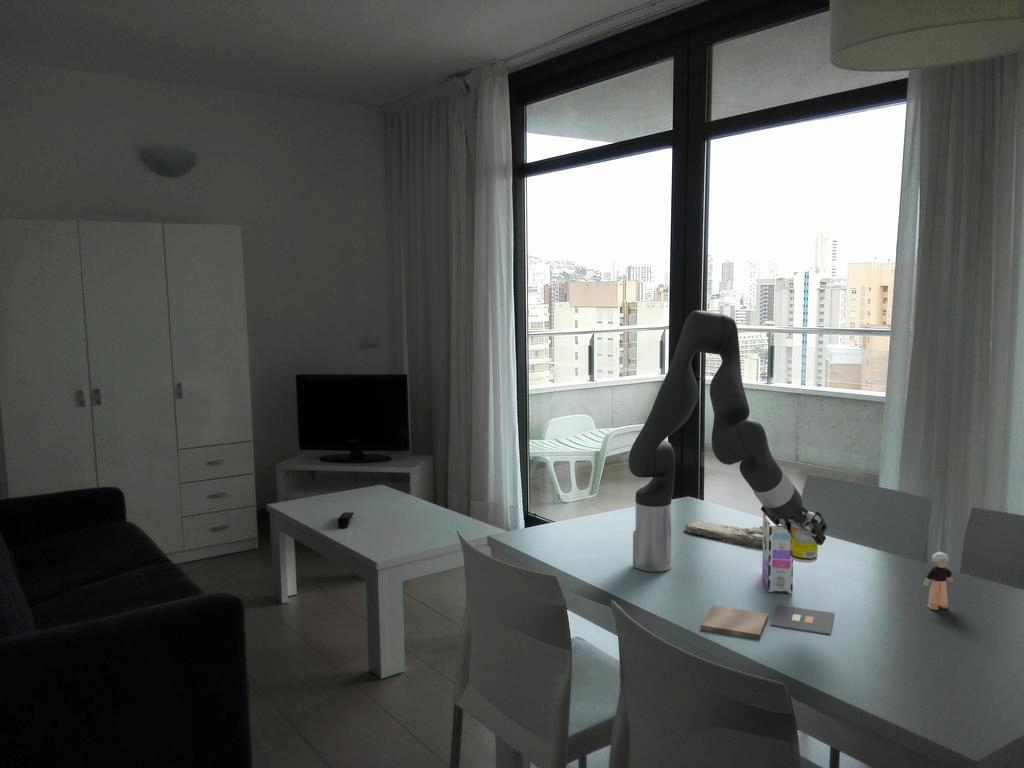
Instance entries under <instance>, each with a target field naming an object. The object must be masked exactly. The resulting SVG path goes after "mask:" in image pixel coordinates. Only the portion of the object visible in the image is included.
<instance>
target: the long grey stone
mask: <svg viewBox="0 0 1024 768" xmlns="http://www.w3.org/2000/svg"><path fill="white" fill-rule="evenodd" d="M684 531H685V532H686V533H687V532H689V533H688V534H692V533H693V535H696V534H697V536H700V535H702V536H701V537H704V536H706V537H705V538H709V537H710V538H709V539H712V538H713V539H712V540H718V539H720V540H719V541H722V540H725V541H724V542H727V541H729V542H728V543H731V542H732V544H739V543H741V544H742V545H746V546H749V545H750V547H752V546H756V547H755V548H759V547H762V548H761V549H763V525H762V526H761V525H760V526H759V527H757V526H754V527H750V528H749V527H745V528H744V527H738V526H733V525H732V526H731V525H724V524H719V523H713V522H707V521H702V520H693V521H687V523H685V525H684ZM741 544H740V545H741Z"/></svg>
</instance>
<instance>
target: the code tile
mask: <svg viewBox="0 0 1024 768" xmlns="http://www.w3.org/2000/svg"><path fill="white" fill-rule="evenodd" d="M775 607H776V608H775V610H774V613H773V615H772V618H771V621H770V624H769V626H771V627H777V628H782V629H789V630H796V631H803V632H807V633H815V634H821V635H828V636H831V633H832V628H833V623H834V617H835V612H831V611H830V612H829V611H822V610H816V609H809V608H804V607H803V608H802V607H795V606H787V605H781V604H777V605H776V606H775Z"/></svg>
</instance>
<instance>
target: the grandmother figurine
mask: <svg viewBox="0 0 1024 768" xmlns="http://www.w3.org/2000/svg"><path fill="white" fill-rule="evenodd" d="M931 559H932V562H933V563H934V565H935V566H933V567H932V568H931V570H930V571H928V572H929V573H928V574H927V575H926V577H925V579H924V581H923V586H924V587H928V586H929V585H930V583H931V582H932V583H931V585H930V589H929V592H928V593H929V594H928V601H927V602H928V604H926V607H927V608H928V607H929V608H928V609H930V610H932V609H933V611H934V610H935V611H938V610H939V609H948V590H947V581H948V582H949V583H953V582H954V578H953V575H952V572H951V570H950V569H949V568H947V566H948V561H949V555H948V554H946V553H945V552H942V551H938V552H935V553H933V554H932V556H931ZM939 607H940V608H939Z"/></svg>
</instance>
